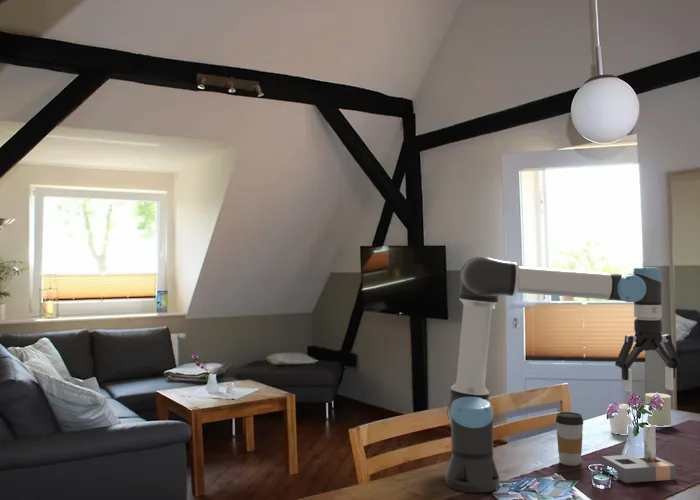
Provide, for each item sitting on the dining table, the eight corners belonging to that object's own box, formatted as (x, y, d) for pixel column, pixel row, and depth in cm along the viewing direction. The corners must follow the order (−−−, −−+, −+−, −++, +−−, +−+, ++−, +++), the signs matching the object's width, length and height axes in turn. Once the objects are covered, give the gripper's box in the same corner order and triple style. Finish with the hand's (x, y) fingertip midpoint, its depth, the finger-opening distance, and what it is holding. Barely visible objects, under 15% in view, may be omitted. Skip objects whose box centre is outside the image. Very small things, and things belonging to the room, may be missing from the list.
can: (649, 427, 245) (648, 396, 245) (642, 421, 254) (641, 391, 254) (675, 428, 243) (674, 396, 243) (667, 422, 252) (666, 391, 252)
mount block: (625, 482, 184) (625, 468, 184) (601, 469, 195) (601, 456, 195) (675, 479, 186) (675, 465, 186) (649, 466, 198) (649, 453, 198)
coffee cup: (586, 467, 197) (585, 418, 198) (557, 466, 199) (557, 417, 199) (581, 459, 205) (581, 412, 206) (554, 458, 207) (554, 411, 207)
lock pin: (648, 475, 190) (647, 427, 190) (641, 472, 193) (641, 425, 193) (658, 475, 190) (657, 427, 190) (651, 471, 193) (650, 424, 194)
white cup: (636, 436, 233) (635, 408, 233) (614, 436, 233) (613, 408, 233) (627, 430, 241) (626, 403, 241) (605, 430, 241) (605, 403, 241)
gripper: (616, 320, 187) (617, 394, 186) (694, 319, 191) (694, 391, 190) (602, 318, 194) (603, 389, 194) (677, 317, 198) (677, 386, 198)
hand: (648, 390), depth 192 cm, fingers open, 13 cm apart
